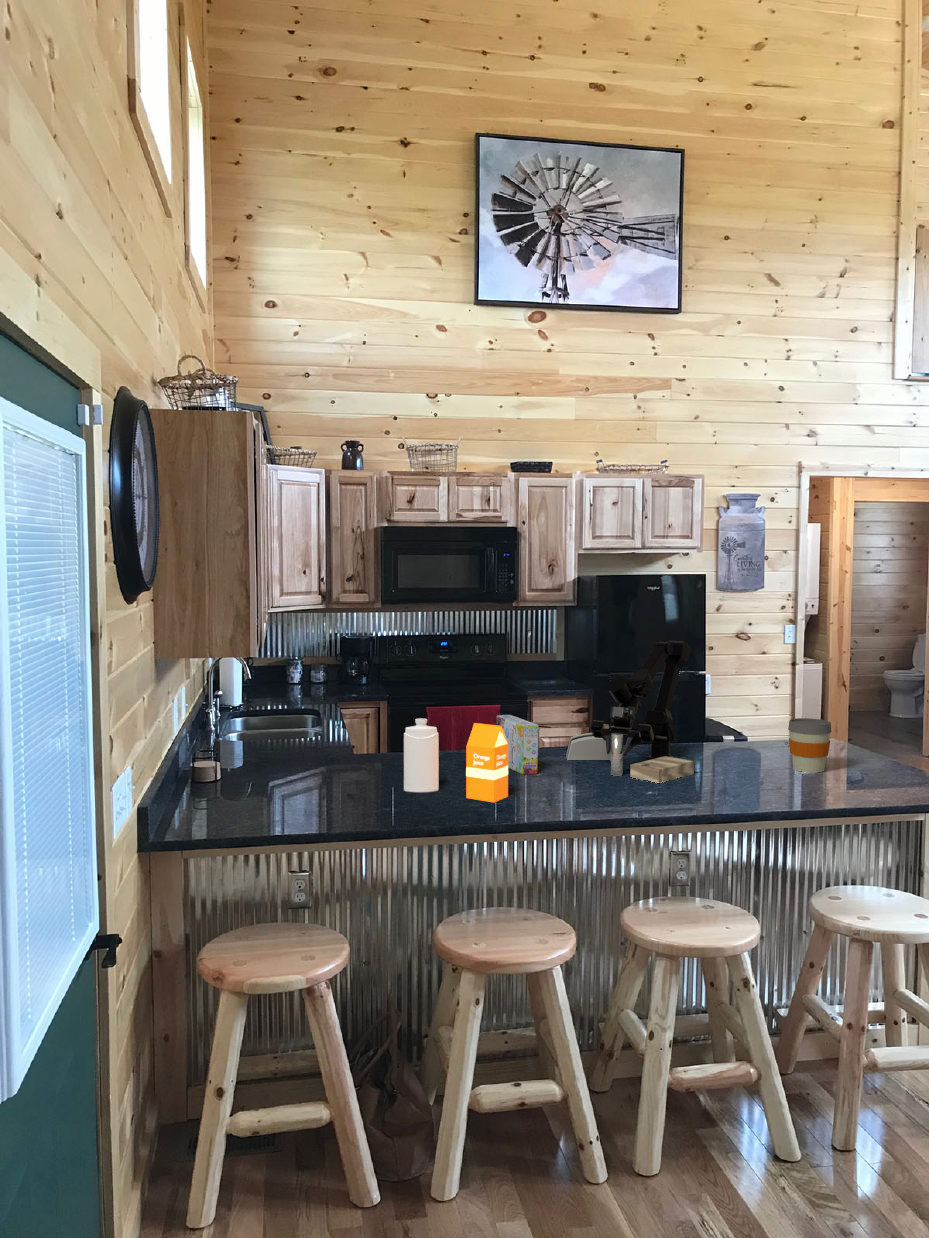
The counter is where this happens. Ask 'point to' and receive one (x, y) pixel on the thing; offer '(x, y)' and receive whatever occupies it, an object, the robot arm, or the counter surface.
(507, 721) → the snack box
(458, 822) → the counter surface
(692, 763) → the birch hole board
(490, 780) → the orange juice
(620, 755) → the steel peg
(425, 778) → the squeeze bottle
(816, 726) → the reusable coffee cup
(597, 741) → the napkin holder
